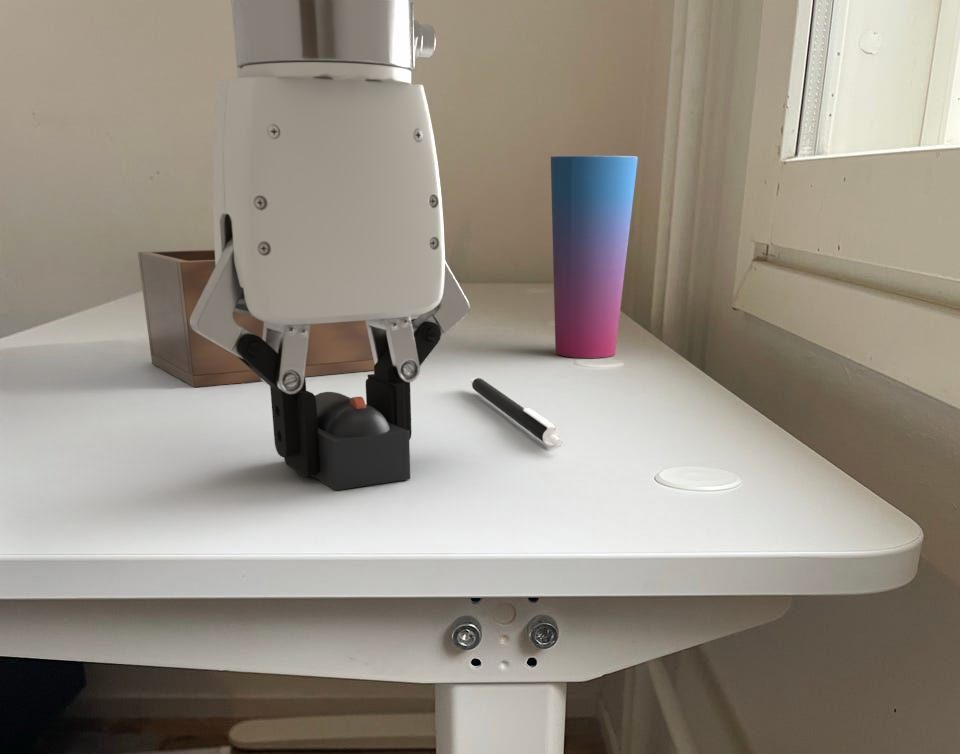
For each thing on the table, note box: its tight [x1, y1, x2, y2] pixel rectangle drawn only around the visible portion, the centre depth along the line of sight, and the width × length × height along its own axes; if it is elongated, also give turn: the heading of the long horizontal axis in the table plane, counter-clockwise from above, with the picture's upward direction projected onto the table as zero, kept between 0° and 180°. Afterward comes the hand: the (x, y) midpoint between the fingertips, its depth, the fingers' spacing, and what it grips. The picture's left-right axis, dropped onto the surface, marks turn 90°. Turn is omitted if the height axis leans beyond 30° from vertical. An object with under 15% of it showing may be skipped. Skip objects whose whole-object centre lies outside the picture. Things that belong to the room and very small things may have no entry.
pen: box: [470, 377, 563, 447], centre depth 63 cm, size 1×19×1 cm, turn 15°
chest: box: [137, 249, 375, 388], centre depth 78 cm, size 14×12×8 cm
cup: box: [550, 155, 639, 359], centre depth 83 cm, size 7×7×15 cm
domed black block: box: [312, 391, 411, 491], centre depth 51 cm, size 7×4×4 cm, turn 31°
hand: (345, 459), depth 51 cm, fingers closed on domed black block, 4 cm apart
